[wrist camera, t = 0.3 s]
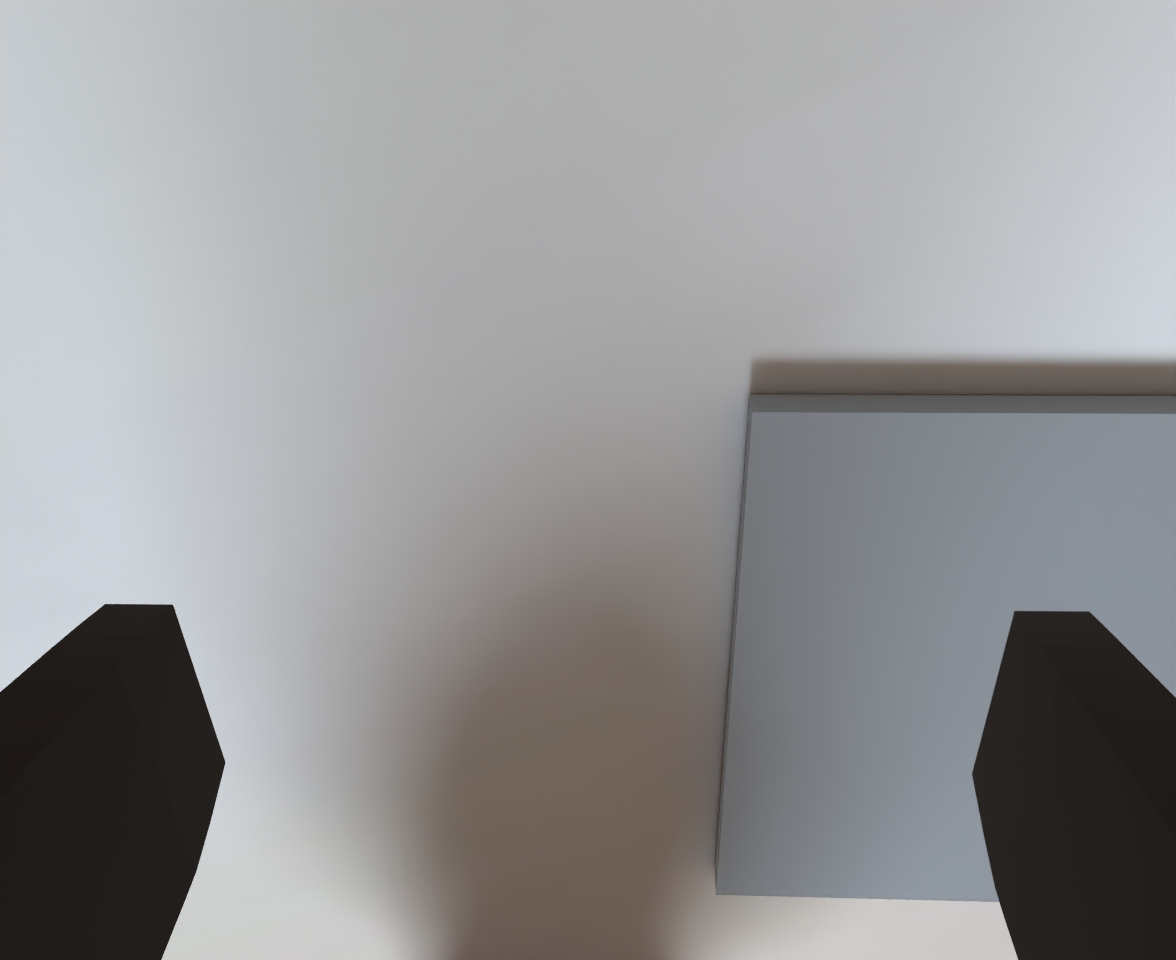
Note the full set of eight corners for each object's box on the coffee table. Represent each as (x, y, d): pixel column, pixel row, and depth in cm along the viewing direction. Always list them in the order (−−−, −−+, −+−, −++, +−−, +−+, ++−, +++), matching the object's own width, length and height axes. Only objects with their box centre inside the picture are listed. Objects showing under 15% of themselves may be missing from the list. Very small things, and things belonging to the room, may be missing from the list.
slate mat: (1162, 884, 27) (1172, 906, 26) (715, 873, 27) (716, 894, 27) (1392, 396, 19) (1412, 415, 18) (749, 394, 19) (752, 412, 19)
